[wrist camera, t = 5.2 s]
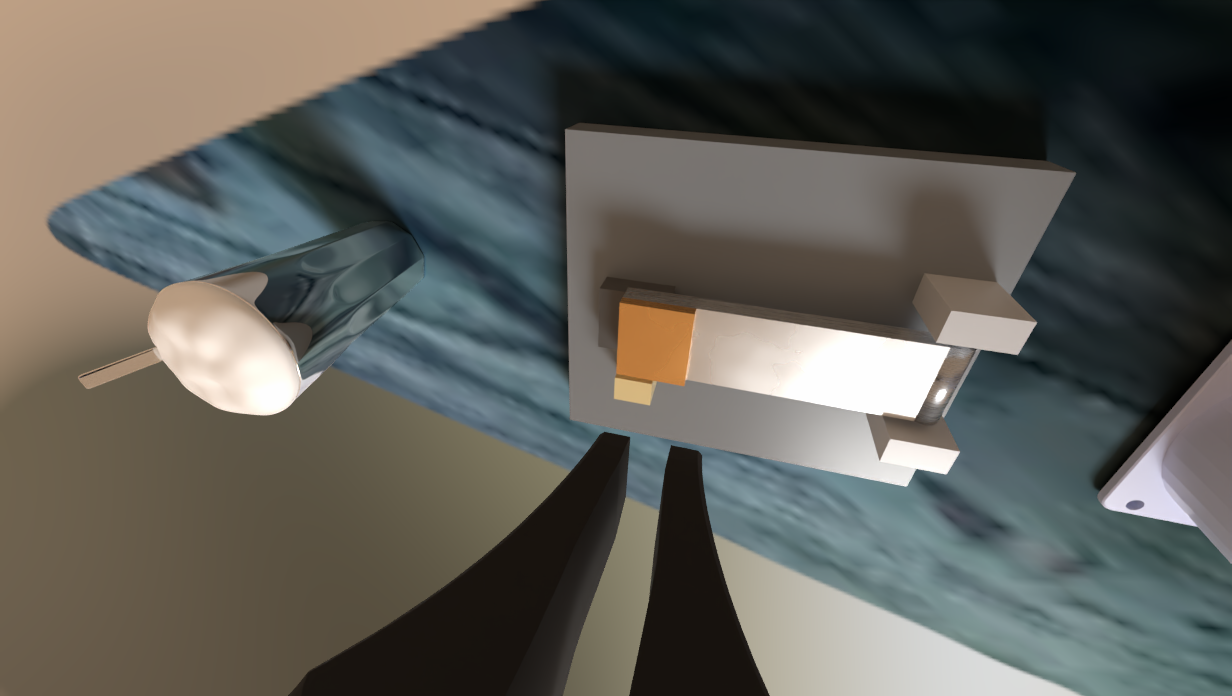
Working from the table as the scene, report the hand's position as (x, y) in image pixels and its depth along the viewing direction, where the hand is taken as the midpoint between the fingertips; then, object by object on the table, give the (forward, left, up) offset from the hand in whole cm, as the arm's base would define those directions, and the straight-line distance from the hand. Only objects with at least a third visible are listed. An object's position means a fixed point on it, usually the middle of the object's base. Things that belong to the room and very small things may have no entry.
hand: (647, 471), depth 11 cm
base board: (-2, 0, -9) cm, 9 cm away
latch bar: (-3, 0, -7) cm, 7 cm away
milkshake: (+14, 0, -9) cm, 16 cm away
